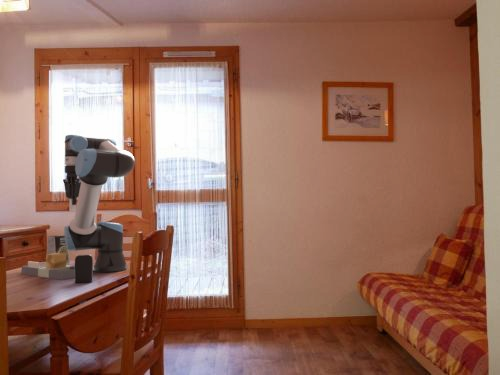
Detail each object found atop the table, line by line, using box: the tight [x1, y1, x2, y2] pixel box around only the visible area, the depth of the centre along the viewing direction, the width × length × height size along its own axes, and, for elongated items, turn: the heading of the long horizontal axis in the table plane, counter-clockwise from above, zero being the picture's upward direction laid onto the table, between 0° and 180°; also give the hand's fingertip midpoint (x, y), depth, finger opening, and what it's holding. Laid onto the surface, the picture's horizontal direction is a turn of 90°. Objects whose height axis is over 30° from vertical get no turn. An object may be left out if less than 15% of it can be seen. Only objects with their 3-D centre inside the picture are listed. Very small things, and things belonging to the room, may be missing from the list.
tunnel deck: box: [21, 260, 75, 281], centre depth 184 cm, size 31×12×6 cm, turn 59°
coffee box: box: [46, 234, 70, 265], centre depth 206 cm, size 9×6×16 cm
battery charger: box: [74, 253, 94, 284], centre depth 166 cm, size 7×4×11 cm, turn 109°
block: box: [45, 253, 66, 269], centre depth 183 cm, size 6×6×6 cm
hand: (72, 211), depth 206 cm, fingers closed
